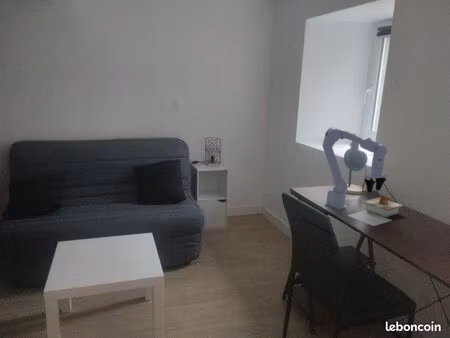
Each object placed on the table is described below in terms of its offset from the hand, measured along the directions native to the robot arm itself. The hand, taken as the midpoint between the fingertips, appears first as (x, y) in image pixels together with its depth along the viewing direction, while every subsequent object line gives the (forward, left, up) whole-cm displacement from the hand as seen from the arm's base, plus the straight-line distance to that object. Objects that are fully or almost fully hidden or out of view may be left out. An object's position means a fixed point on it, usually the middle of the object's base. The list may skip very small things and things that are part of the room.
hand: (373, 191), depth 187 cm
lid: (+6, +1, -6) cm, 8 cm away
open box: (+6, +1, -10) cm, 12 cm away
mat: (+8, -13, -10) cm, 18 cm away
